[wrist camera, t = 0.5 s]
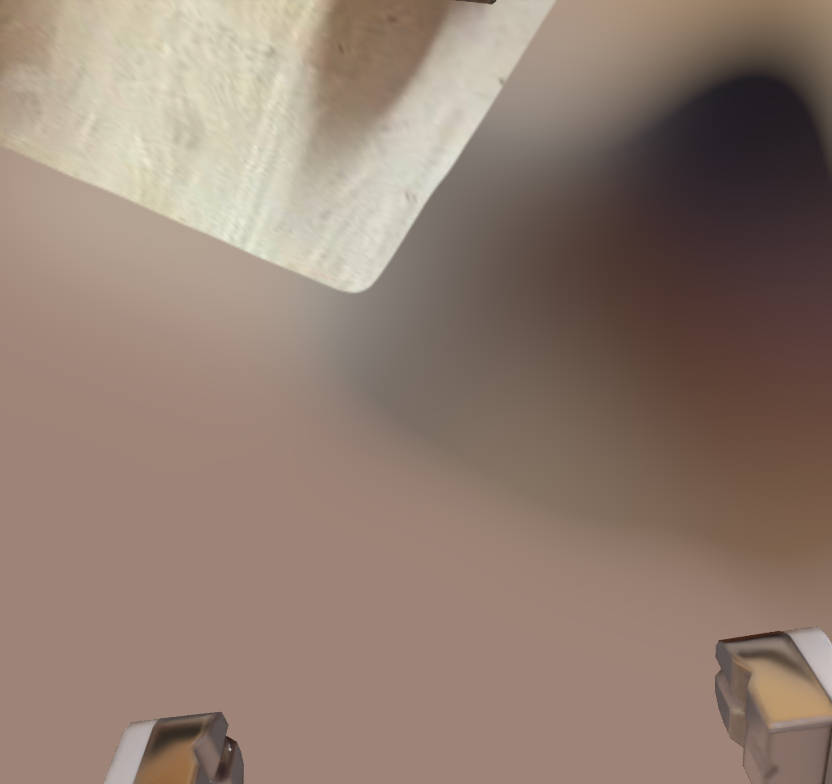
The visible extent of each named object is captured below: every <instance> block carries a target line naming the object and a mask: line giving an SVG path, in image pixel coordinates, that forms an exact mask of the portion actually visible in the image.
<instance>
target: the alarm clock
mask: <svg viewBox="0 0 832 784" xmlns="http://www.w3.org/2000/svg"><path fill="white" fill-rule="evenodd" d="M457 1H467V2H477V3H487V4H493V3H494V2H496V0H457Z"/></svg>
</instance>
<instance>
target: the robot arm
mask: <svg viewBox="0 0 832 784" xmlns="http://www.w3.org/2000/svg"><path fill="white" fill-rule="evenodd" d="M716 659H717V661H718V663H719V665H720V667H721V670H720V671H719V672H718V673H717V675H716V676H715V692H716V697H717V702H718V707H719V711H720V713H721V717H722V719H723V722H724V725H725V727H726V729H727V732H728V734H729V736H730V738H731V739H732V740H734V741H735V742H736V743H738V744H739V745H741V746H742V747H743V748H744V752H743V766H744V769H745V771H746V773H747V775H748V778H749V779H750V782H751V784H832V643H831V642H830V640H829V639H828V638H827V636H826V635H825V633H824V632H823V631H822V630H821V629H819V628H818V627H809V628H802V629H795V630H788V631H783V632H781V631H776V632H770V633H763V634H757V635H750V636H744V637H737V638H731V639H724V640H719V641H718V643H717V645H716ZM227 729H228V723H227V721H226V719H225V717H224V715H223V714H222V712H214V713H205V714H196V715H187V716H179V717H169V718H160V719H154V720H145V721H138V722H131V723H130V724H129V726H128V727H127V728H126V729H125V730H124V732H123V734H122V736H121V739H120V741H119V744H118V746H117V749H116V751H115V754H114V757H113V759H112V762H111V764H110V767H109V769H108V772H107V774H106V777H105V779H104V782H103V784H243V782H244V764H243V759H242V754H241V750H240V748H239V746H238V744H237V742H236V741H234V740H233V739H231V738H229V737H227V736H226V733H227Z"/></svg>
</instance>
